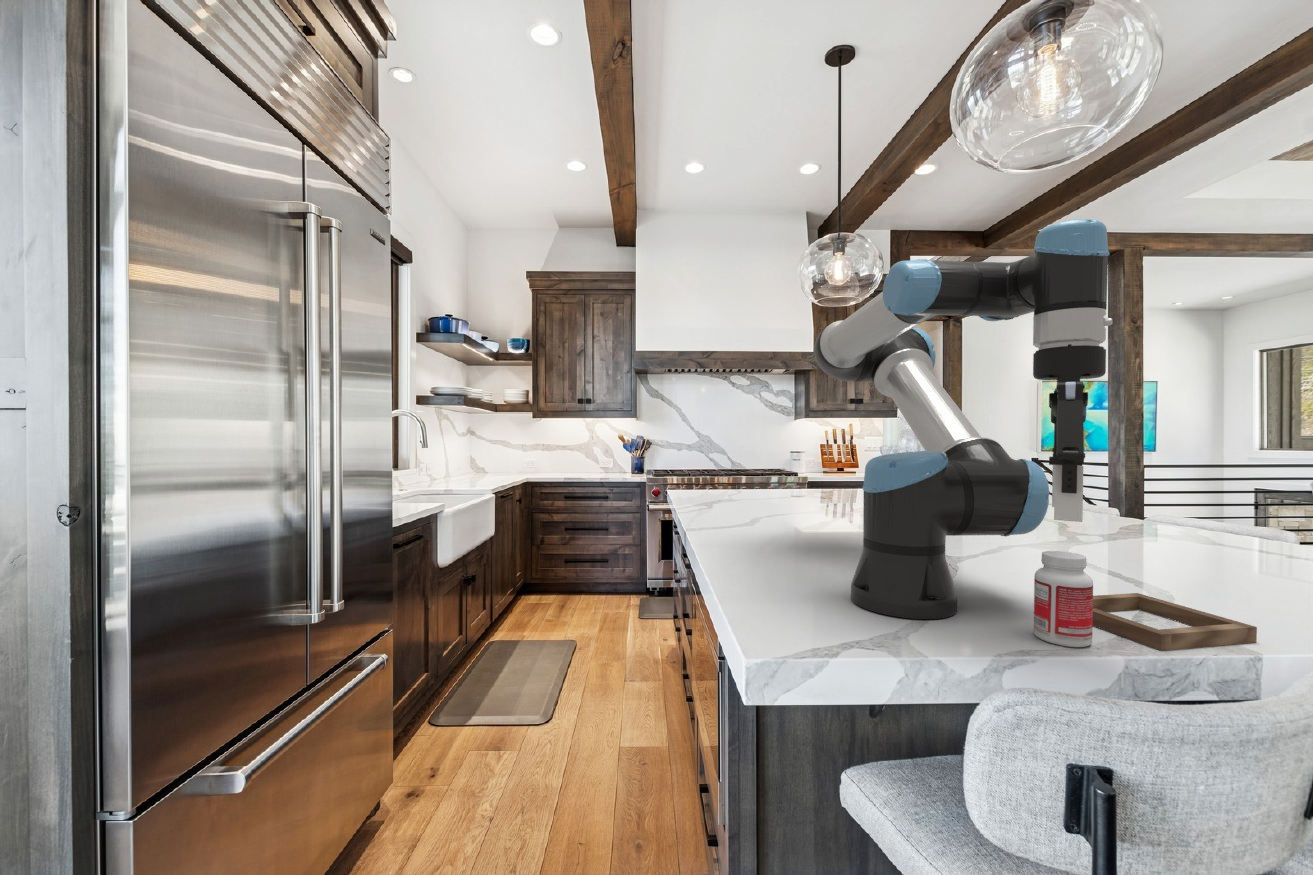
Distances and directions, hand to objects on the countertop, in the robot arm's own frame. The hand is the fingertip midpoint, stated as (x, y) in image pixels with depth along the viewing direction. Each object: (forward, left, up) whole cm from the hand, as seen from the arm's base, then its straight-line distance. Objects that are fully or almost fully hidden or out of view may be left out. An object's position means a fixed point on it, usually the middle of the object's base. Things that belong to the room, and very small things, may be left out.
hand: (1065, 513), depth 73 cm
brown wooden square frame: (+10, +13, -16) cm, 23 cm away
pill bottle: (0, 0, -17) cm, 17 cm away
